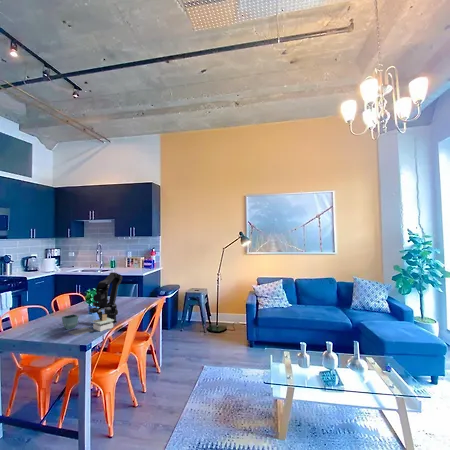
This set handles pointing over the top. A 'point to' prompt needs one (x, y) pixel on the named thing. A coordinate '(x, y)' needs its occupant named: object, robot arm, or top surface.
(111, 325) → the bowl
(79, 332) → the mat
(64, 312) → the top surface
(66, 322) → the flower pot
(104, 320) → the lid
